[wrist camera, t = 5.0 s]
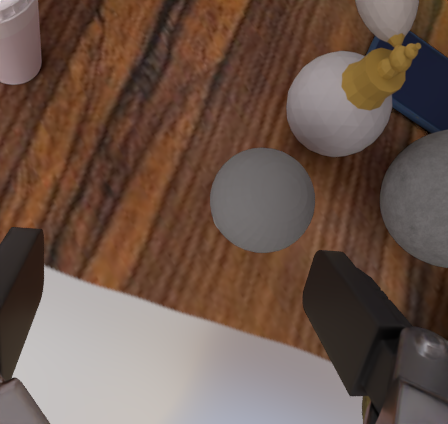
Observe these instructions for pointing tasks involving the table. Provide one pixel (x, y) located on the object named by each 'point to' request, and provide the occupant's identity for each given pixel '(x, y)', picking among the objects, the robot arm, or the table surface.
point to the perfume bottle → (353, 85)
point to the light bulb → (262, 200)
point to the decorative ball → (419, 199)
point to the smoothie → (19, 41)
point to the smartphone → (422, 85)
